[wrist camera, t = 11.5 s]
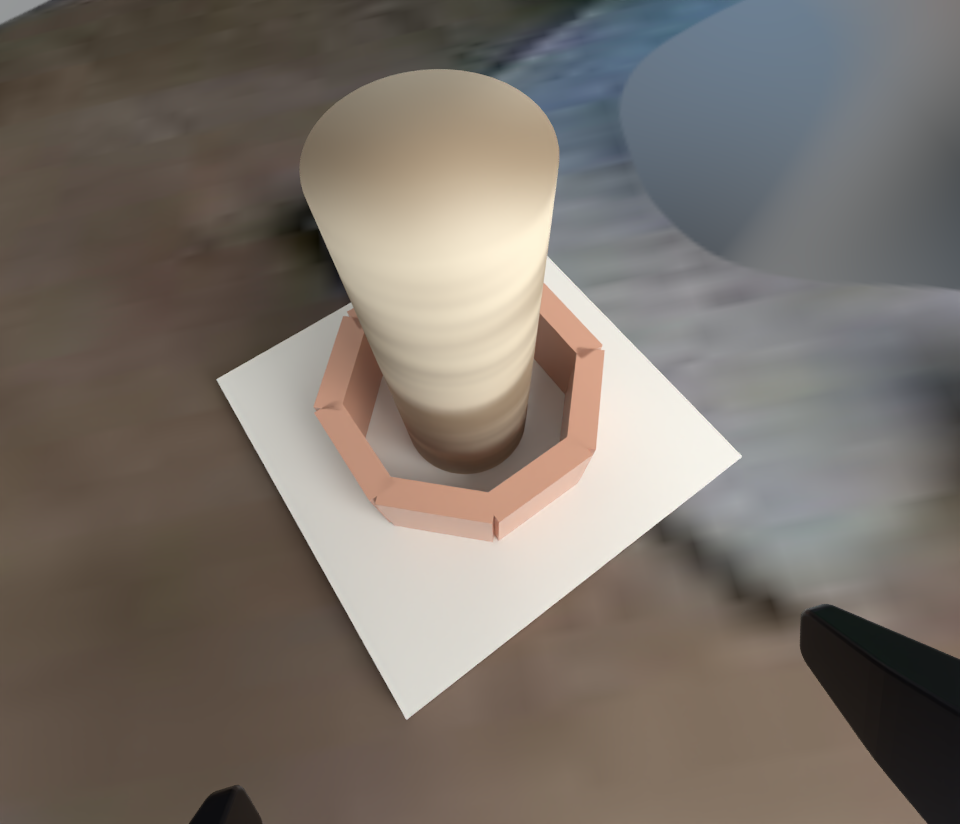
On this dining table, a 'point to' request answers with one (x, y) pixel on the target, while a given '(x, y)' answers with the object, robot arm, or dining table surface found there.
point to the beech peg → (441, 248)
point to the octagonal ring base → (470, 484)
